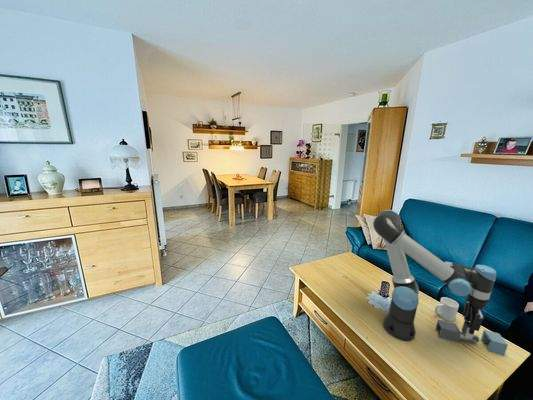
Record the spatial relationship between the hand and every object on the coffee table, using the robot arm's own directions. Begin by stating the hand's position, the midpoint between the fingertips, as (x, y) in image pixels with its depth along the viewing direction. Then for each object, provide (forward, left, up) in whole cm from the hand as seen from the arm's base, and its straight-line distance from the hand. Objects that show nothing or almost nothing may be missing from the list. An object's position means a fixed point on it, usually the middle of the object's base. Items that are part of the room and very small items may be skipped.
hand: (466, 334), depth 114 cm
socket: (+11, 0, -4) cm, 12 cm away
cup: (-5, +16, -4) cm, 17 cm away
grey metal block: (-8, 0, -4) cm, 9 cm away
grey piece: (-3, 0, -3) cm, 4 cm away
